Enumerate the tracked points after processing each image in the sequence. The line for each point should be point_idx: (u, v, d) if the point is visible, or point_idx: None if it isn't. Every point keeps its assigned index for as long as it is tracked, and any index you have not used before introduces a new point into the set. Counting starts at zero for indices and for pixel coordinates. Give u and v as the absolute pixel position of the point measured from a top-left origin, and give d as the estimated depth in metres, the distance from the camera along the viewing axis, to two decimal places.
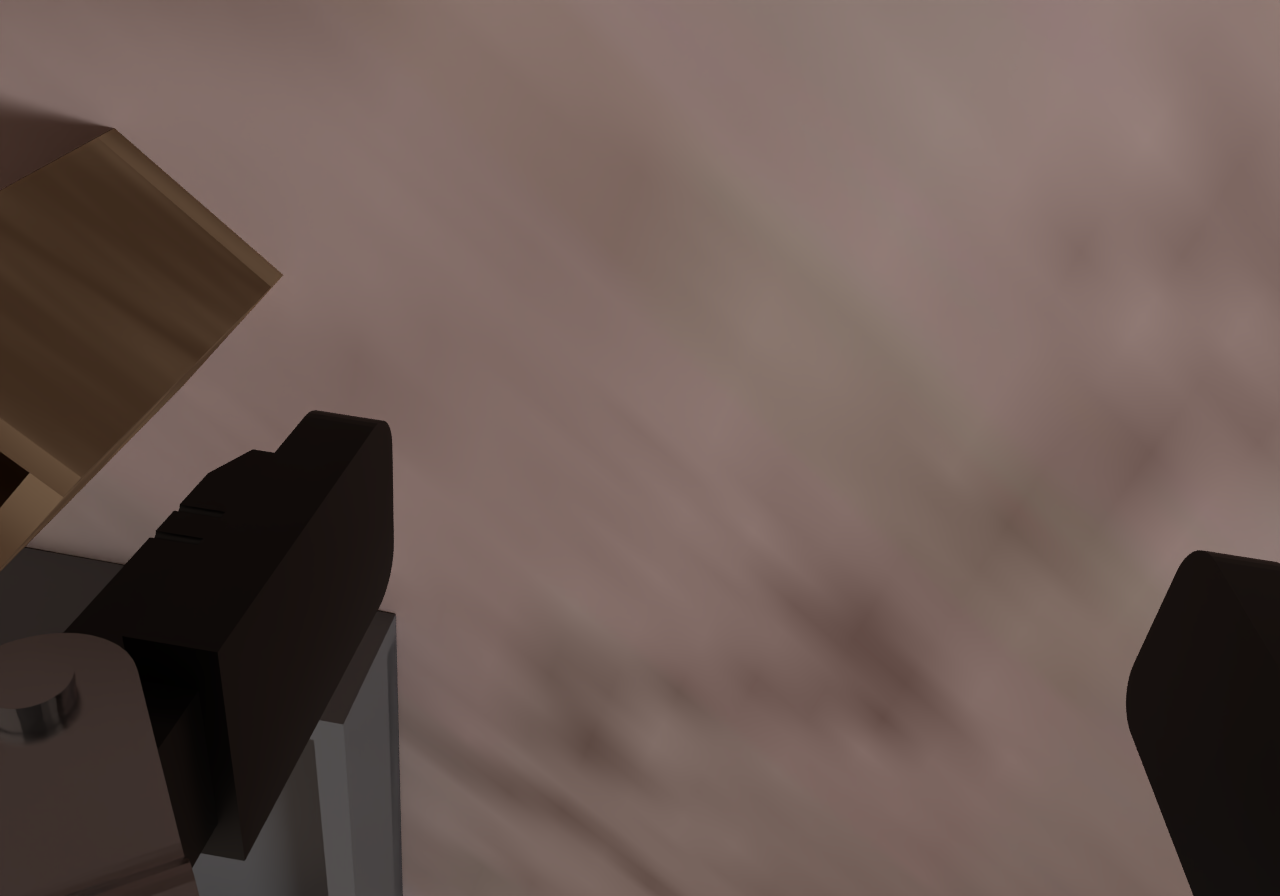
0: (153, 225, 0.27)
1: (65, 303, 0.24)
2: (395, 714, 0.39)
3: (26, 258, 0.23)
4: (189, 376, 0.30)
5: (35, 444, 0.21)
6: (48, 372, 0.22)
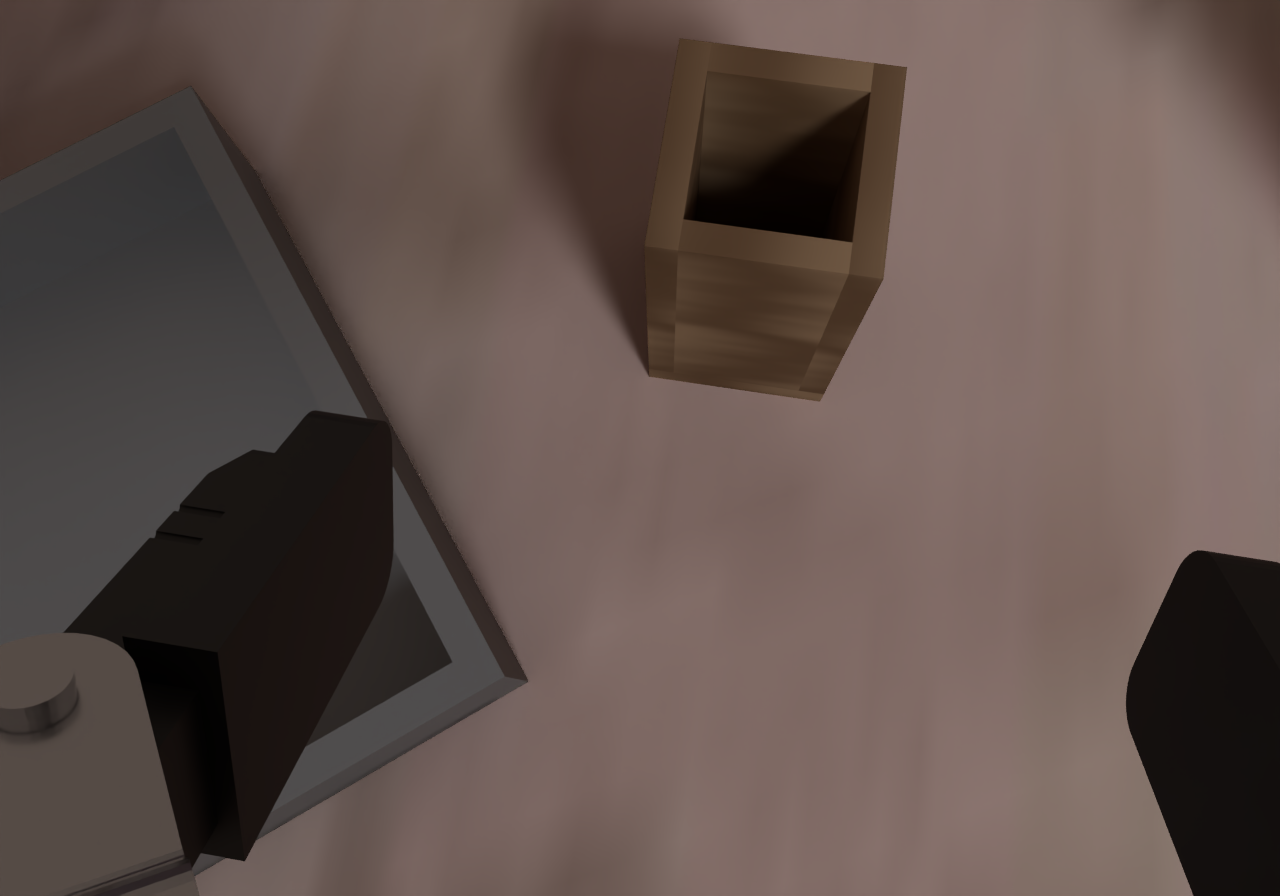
0: None
1: None
2: (384, 764, 0.31)
3: None
4: (701, 370, 0.33)
5: (887, 237, 0.24)
6: None
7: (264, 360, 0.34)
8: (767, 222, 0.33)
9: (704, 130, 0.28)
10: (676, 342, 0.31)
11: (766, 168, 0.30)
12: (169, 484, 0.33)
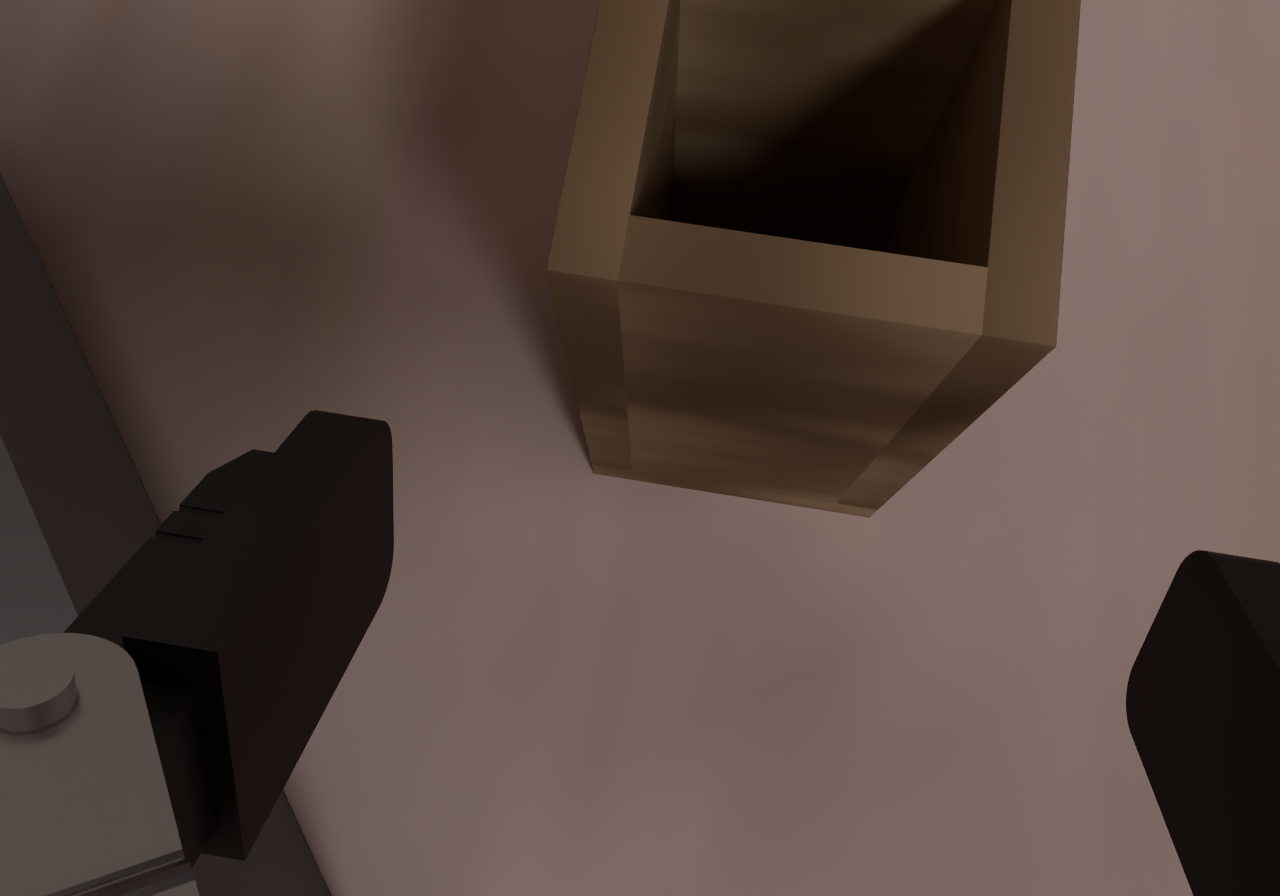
0: None
1: None
2: None
3: None
4: (676, 471, 0.20)
5: (1061, 256, 0.12)
6: None
7: None
8: (787, 227, 0.20)
9: (681, 55, 0.15)
10: (632, 432, 0.18)
11: (791, 130, 0.17)
12: None
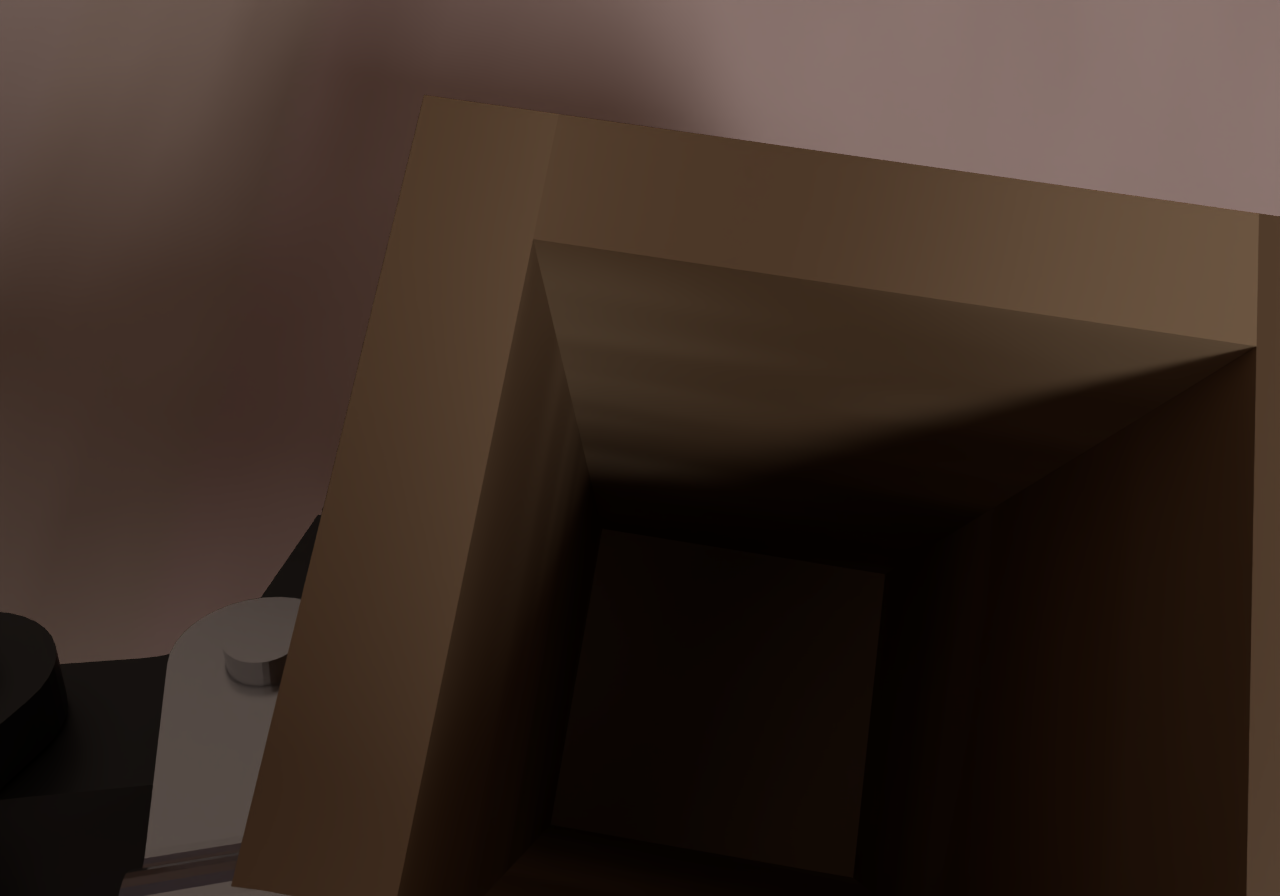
0: None
1: None
2: None
3: None
4: None
5: None
6: None
7: None
8: (772, 534, 0.13)
9: (573, 389, 0.09)
10: None
11: (775, 468, 0.10)
12: None
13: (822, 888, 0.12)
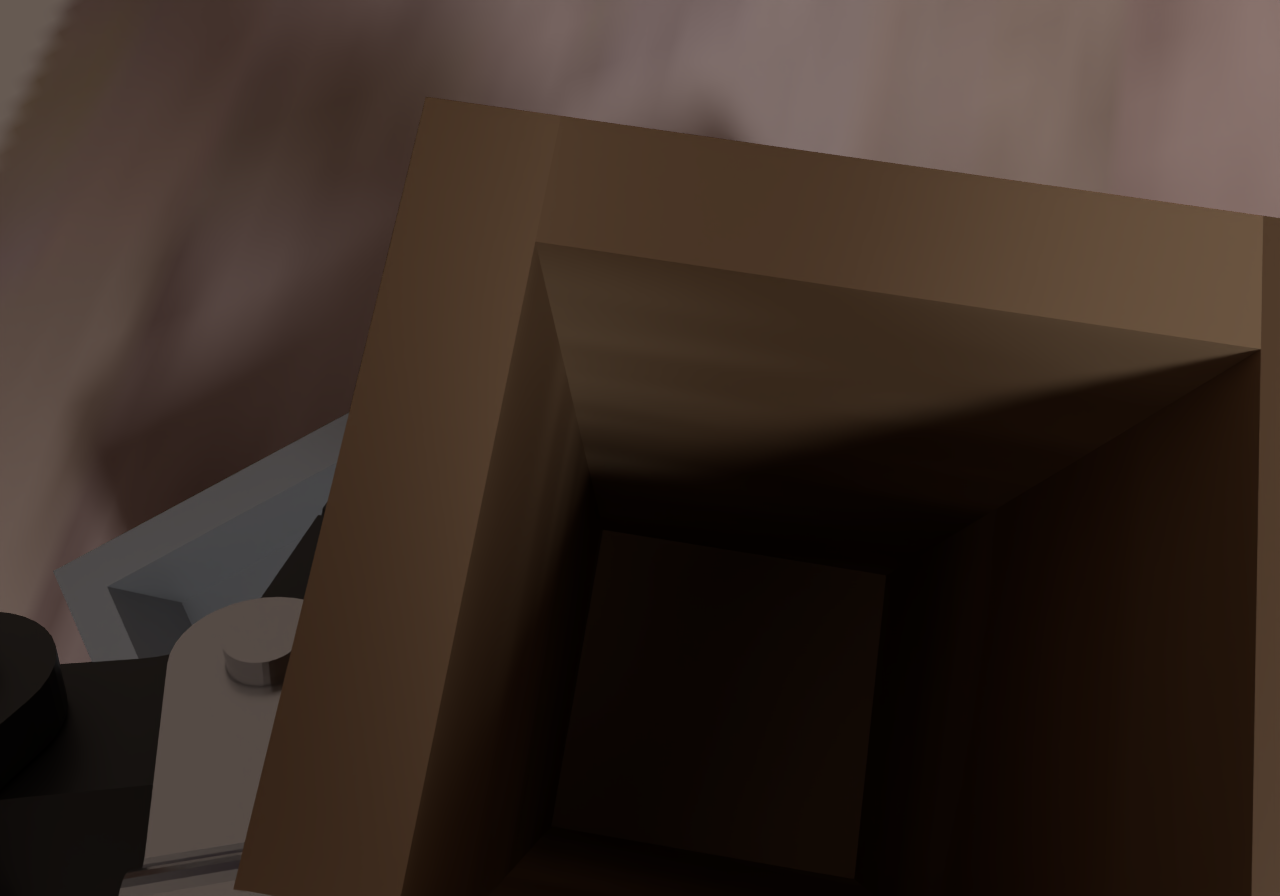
0: None
1: None
2: None
3: None
4: None
5: None
6: None
7: None
8: (773, 535, 0.13)
9: (574, 390, 0.08)
10: None
11: (776, 470, 0.10)
12: None
13: (823, 890, 0.12)
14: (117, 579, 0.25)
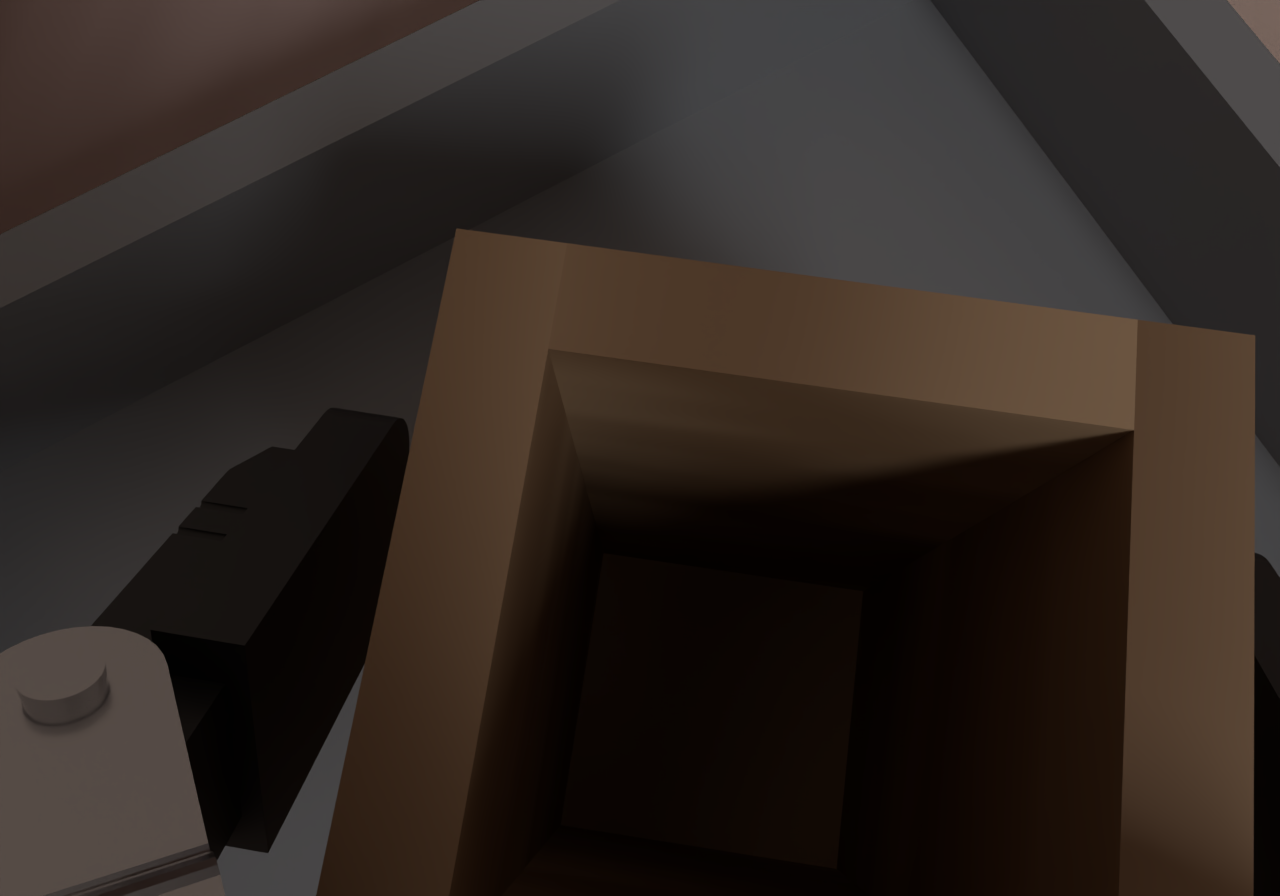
0: None
1: None
2: None
3: None
4: None
5: None
6: None
7: (1050, 291, 0.18)
8: (758, 558, 0.14)
9: (579, 448, 0.10)
10: None
11: (756, 508, 0.11)
12: None
13: (806, 878, 0.13)
14: None
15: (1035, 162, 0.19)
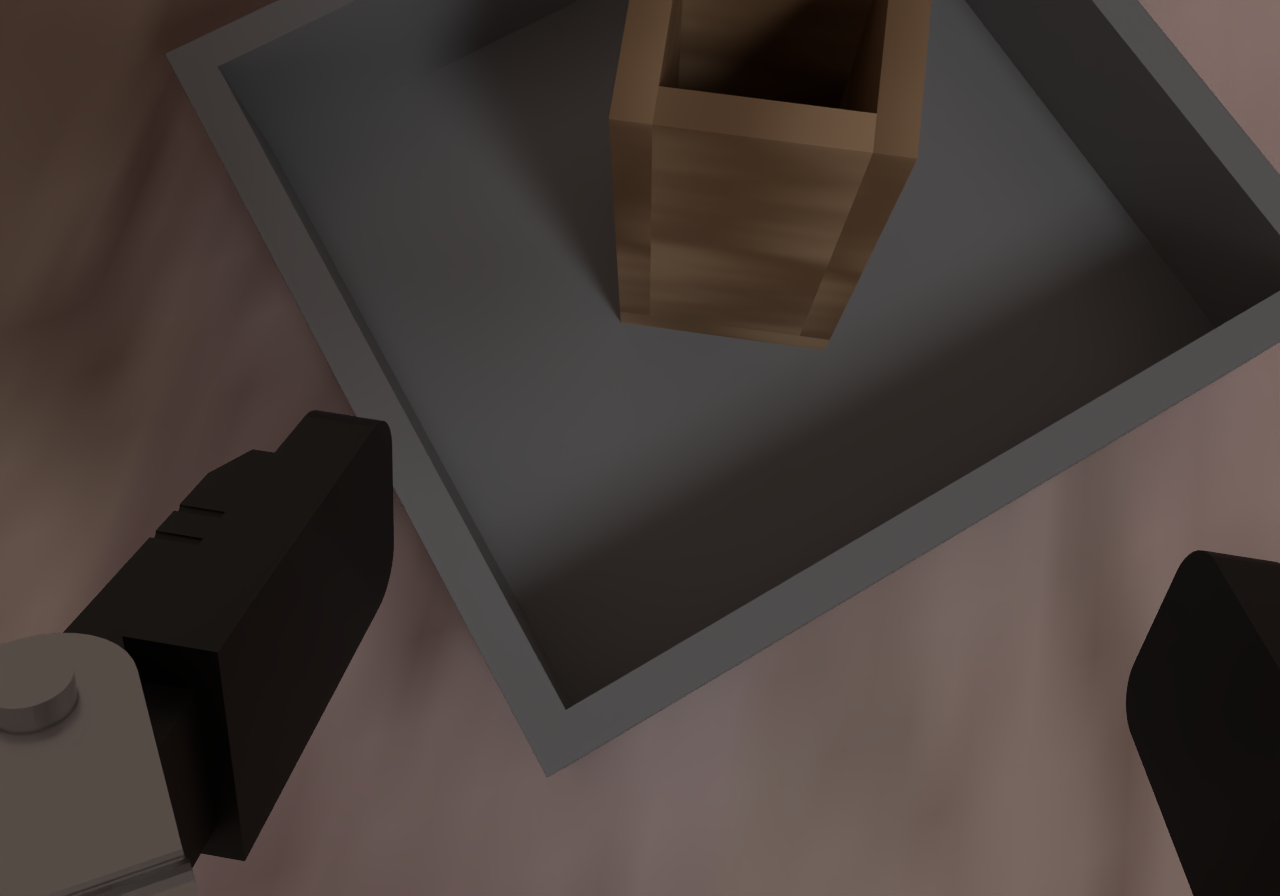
0: None
1: None
2: None
3: None
4: (683, 312, 0.27)
5: (921, 106, 0.19)
6: None
7: (929, 28, 0.31)
8: None
9: None
10: (652, 271, 0.25)
11: (760, 54, 0.24)
12: None
13: None
14: (227, 60, 0.26)
15: None
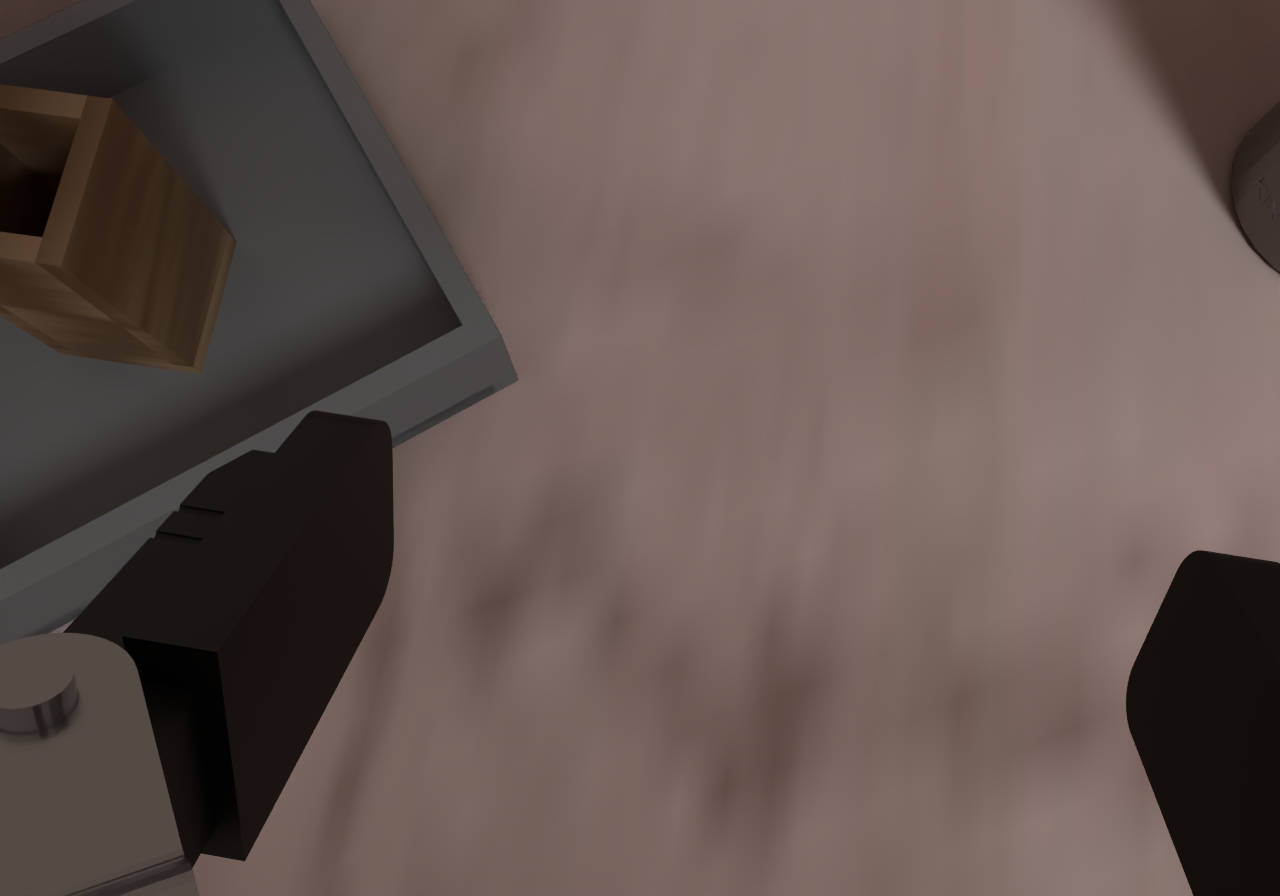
0: (198, 278, 0.39)
1: (144, 234, 0.35)
2: (407, 437, 0.41)
3: (158, 205, 0.36)
4: (85, 348, 0.39)
5: (70, 232, 0.31)
6: (108, 232, 0.33)
7: (313, 139, 0.43)
8: None
9: (7, 148, 0.35)
10: (28, 322, 0.37)
11: None
12: (240, 230, 0.42)
13: None
14: None
15: (318, 86, 0.44)
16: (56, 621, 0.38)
